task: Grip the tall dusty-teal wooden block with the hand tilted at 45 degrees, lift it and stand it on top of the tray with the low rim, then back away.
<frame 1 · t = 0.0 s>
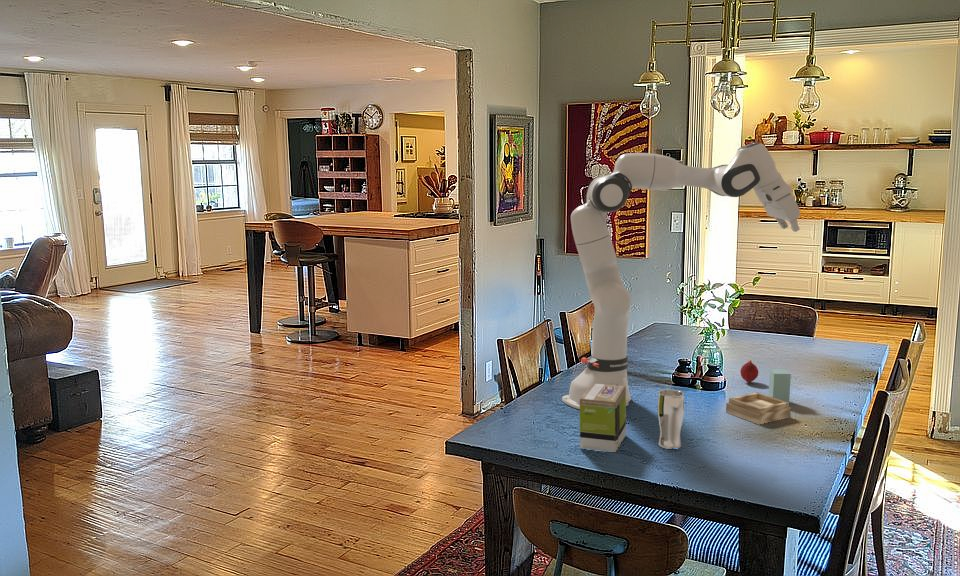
hand: (790, 229, 245), 54 cm above the table, tool tilted 30°, fingers open, 8 cm apart
beer glass: (669, 446, 214), on the table
tea box: (603, 443, 217), on the table
block: (778, 402, 249), on the table
onion: (748, 383, 270), on the table
tray: (757, 414, 237), on the table
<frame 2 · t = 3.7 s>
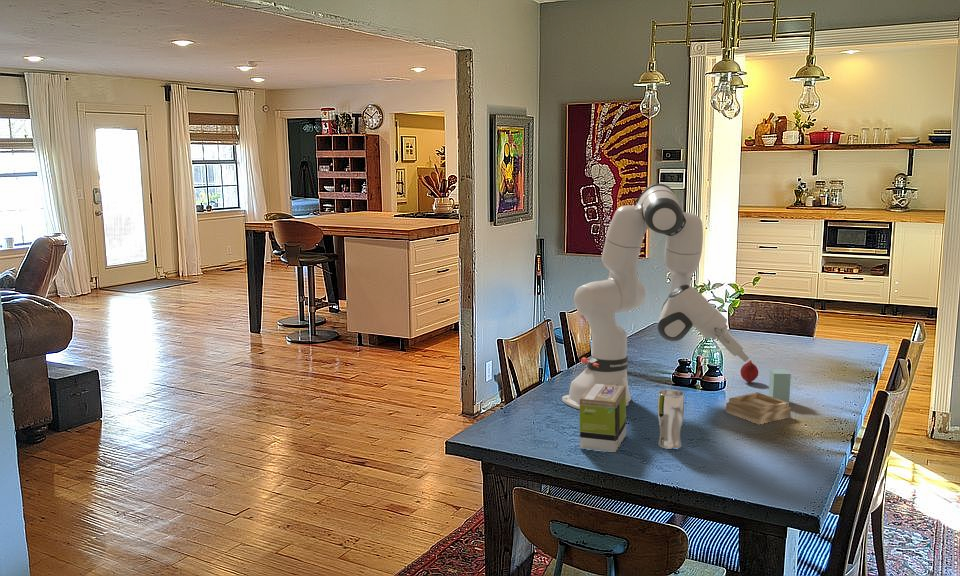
hand: (743, 356, 248), 15 cm above the table, tool tilted 45°, fingers open, 8 cm apart
nothing on the table moved.
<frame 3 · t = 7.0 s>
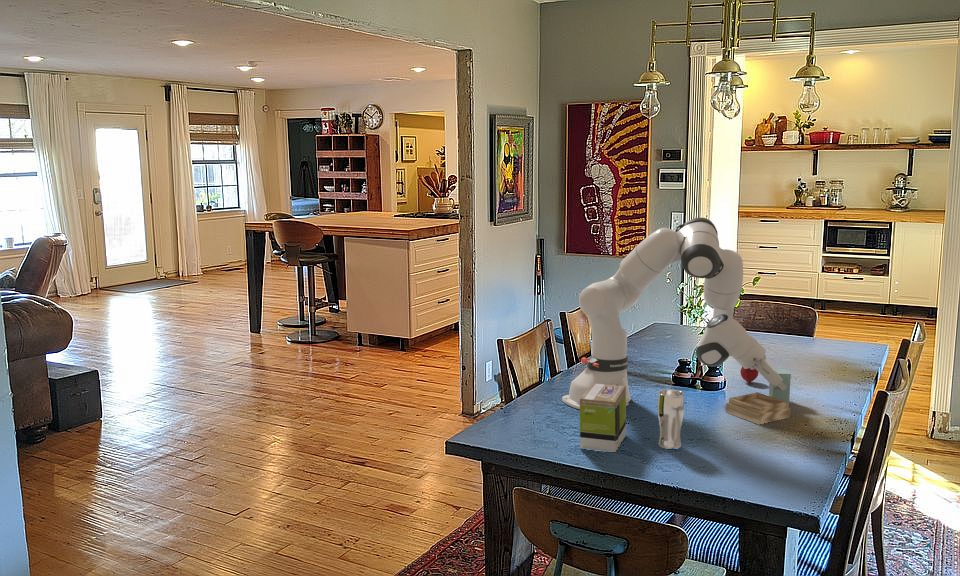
hand: (781, 385, 248), 5 cm above the table, tool tilted 45°, fingers closed on block, 5 cm apart
block: (778, 402, 249), on the table, touching gripper
everything else where it was.
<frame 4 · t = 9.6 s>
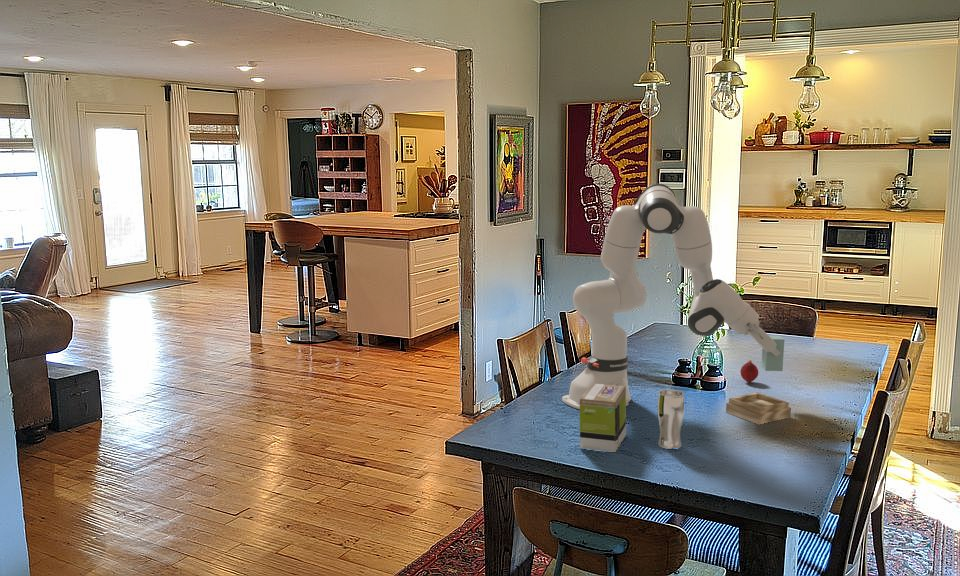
hand: (774, 351, 244), 17 cm above the table, tool tilted 45°, fingers closed on block, 5 cm apart
block: (771, 368, 245), point 12 cm above the table, touching gripper
everything else where it was.
when the fingers open (10 cm above the table, at t = 12.4 s): block drops 1 cm, resting on tray.
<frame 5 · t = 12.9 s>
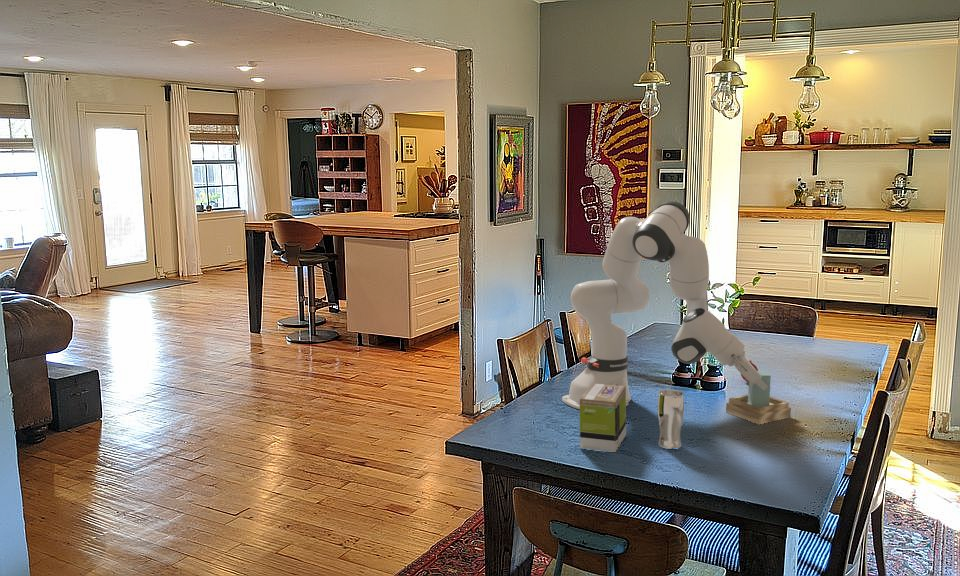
hand: (761, 383, 236), 10 cm above the table, tool tilted 45°, fingers open, 8 cm apart
block: (758, 405, 237), point 3 cm above the table, touching tray
everything else where it was.
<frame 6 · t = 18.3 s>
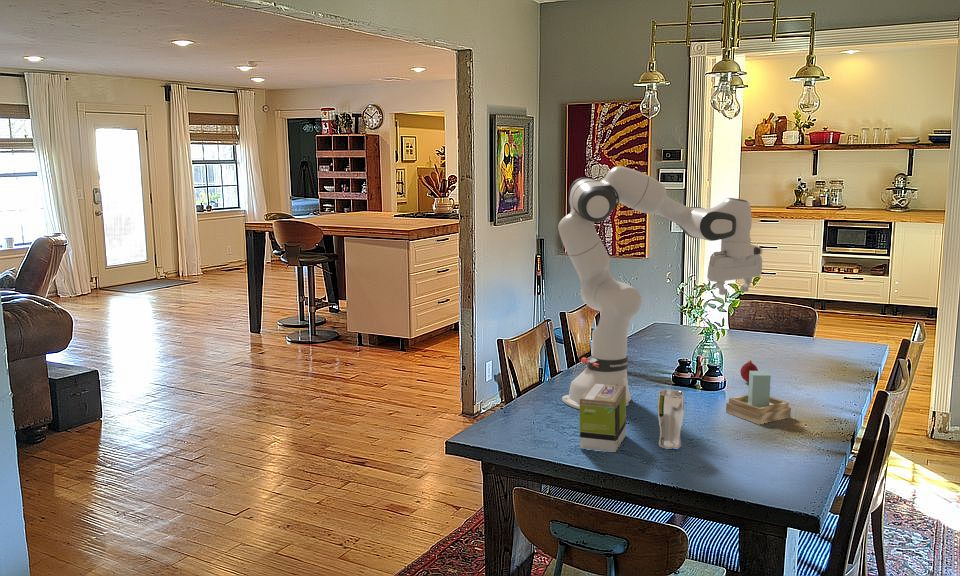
hand: (733, 293, 250), 34 cm above the table, tool pointing down, fingers open, 8 cm apart
nothing on the table moved.
at the end: block inside the target area on the tray (0.1 cm from its centre), point 3.0 cm above the tray's base; block tilted 0°; the gripper is holding nothing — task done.
